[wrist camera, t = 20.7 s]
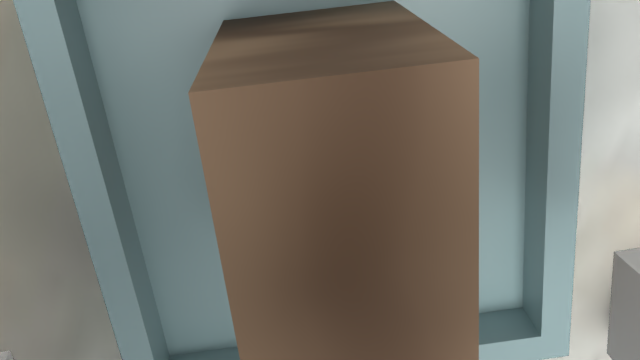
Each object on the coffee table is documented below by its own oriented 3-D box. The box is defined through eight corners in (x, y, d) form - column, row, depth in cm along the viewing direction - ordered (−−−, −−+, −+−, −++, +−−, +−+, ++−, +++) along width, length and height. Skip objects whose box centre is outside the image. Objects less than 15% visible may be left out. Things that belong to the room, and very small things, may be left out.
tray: (152, 366, 23) (139, 415, 21) (34, -51, 17) (-2, -47, 15) (539, 313, 24) (568, 355, 21) (555, -116, 18) (598, -121, 15)
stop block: (257, 232, 20) (249, 408, 13) (223, 20, 18) (188, 92, 10) (405, 214, 21) (479, 378, 13) (394, 0, 18) (478, 58, 10)
